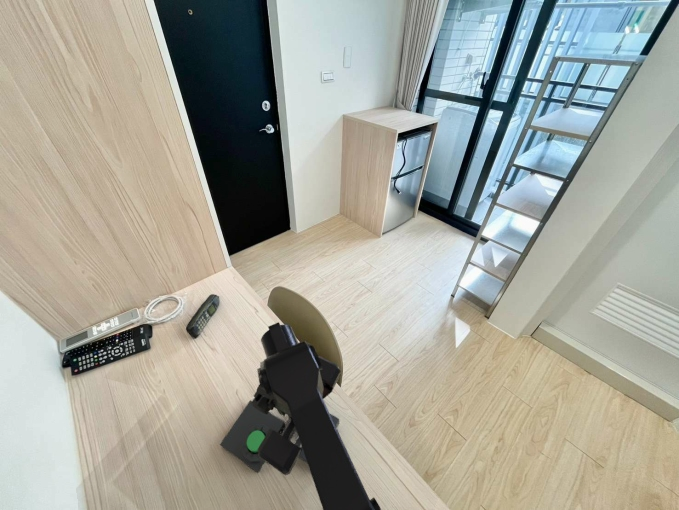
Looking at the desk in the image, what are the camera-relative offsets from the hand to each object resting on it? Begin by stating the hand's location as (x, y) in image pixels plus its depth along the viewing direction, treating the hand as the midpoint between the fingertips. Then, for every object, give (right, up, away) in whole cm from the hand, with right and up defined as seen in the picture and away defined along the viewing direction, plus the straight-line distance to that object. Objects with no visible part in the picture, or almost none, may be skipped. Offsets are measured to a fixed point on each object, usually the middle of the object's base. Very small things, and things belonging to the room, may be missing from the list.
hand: (307, 420), depth 55 cm
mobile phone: (-34, +14, +29) cm, 47 cm away
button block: (-13, -7, +7) cm, 16 cm away
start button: (-11, -6, +3) cm, 13 cm away
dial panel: (0, -7, +7) cm, 10 cm away
